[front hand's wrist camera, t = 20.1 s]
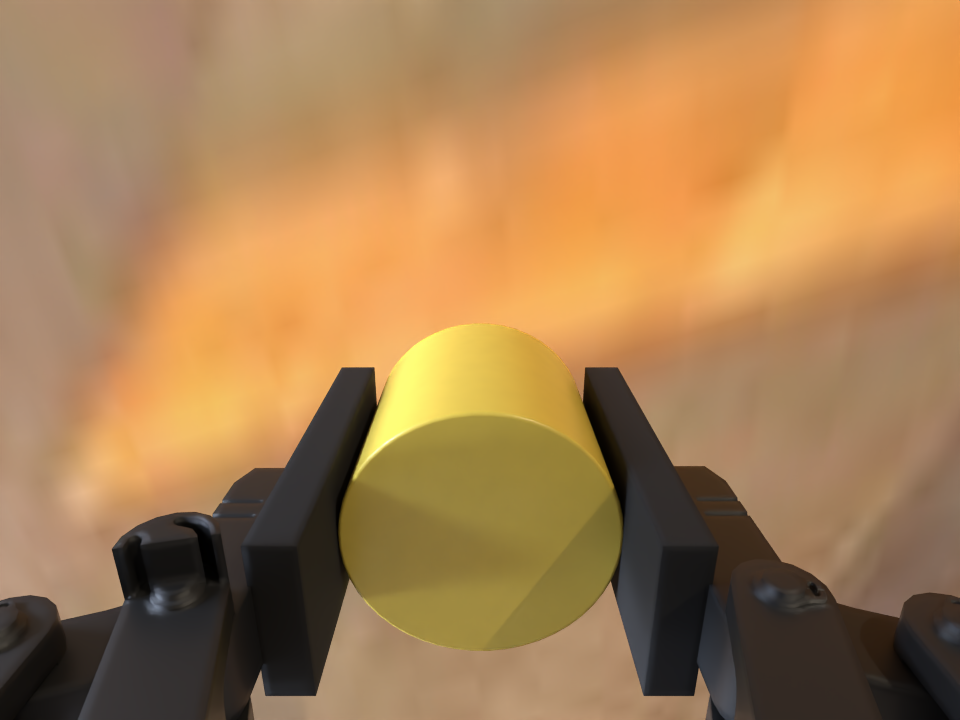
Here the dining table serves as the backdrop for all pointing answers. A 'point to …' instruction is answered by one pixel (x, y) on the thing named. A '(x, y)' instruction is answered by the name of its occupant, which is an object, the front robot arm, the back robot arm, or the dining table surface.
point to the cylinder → (480, 495)
